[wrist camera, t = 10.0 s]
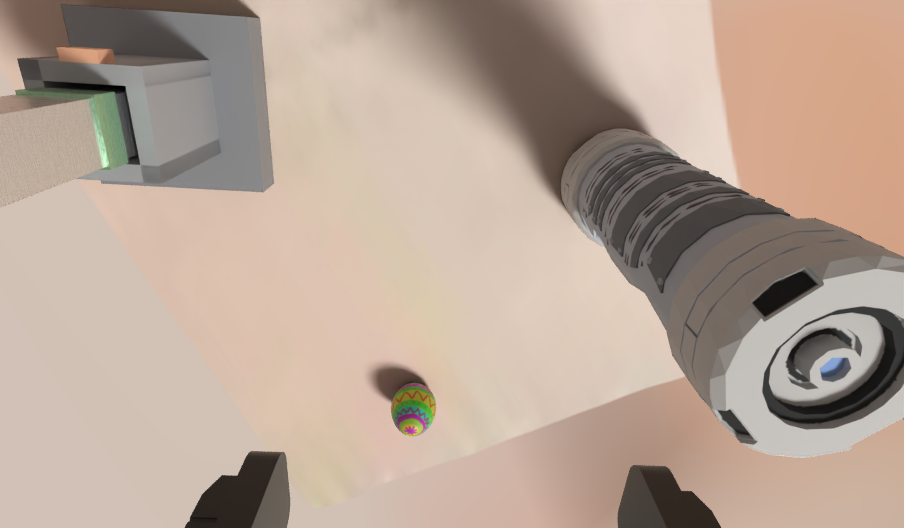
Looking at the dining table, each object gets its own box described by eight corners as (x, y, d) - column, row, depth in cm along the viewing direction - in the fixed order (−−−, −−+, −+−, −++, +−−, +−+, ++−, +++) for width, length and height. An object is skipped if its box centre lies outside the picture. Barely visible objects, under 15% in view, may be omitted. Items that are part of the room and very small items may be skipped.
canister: (538, 176, 48) (669, 362, 20) (628, 103, 45) (916, 206, 18) (598, 250, 51) (779, 497, 24) (685, 186, 48) (1002, 381, 21)
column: (87, 81, 35) (-301, 129, 17) (152, 85, 35) (-161, 137, 17) (101, 145, 37) (-235, 251, 18) (163, 148, 37) (-109, 257, 19)
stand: (85, 6, 41) (-59, -7, 29) (259, 18, 42) (187, 10, 30) (121, 174, 47) (12, 221, 35) (273, 183, 47) (217, 231, 36)
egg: (409, 417, 59) (406, 456, 54) (384, 389, 58) (378, 426, 52) (444, 398, 58) (444, 435, 53) (419, 369, 57) (417, 405, 51)
